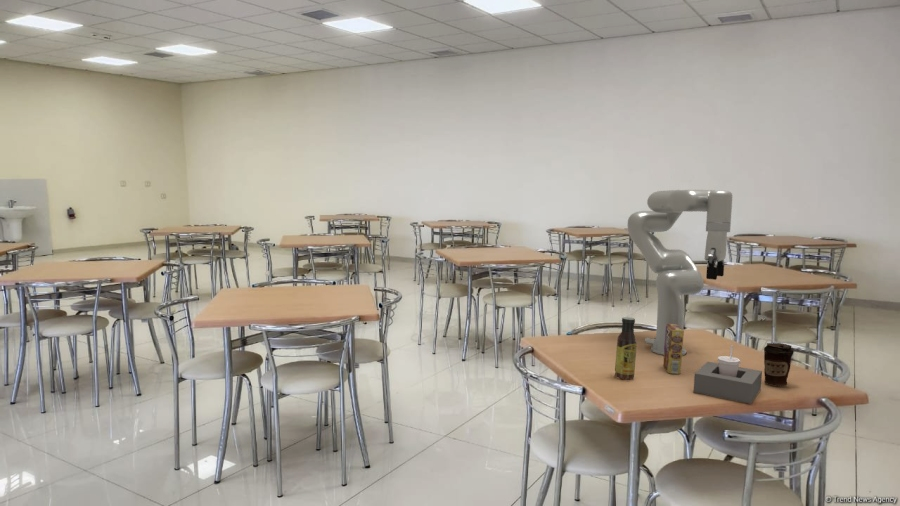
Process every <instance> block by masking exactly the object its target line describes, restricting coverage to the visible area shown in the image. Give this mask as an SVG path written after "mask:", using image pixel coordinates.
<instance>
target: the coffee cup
mask: <svg viewBox="0 0 900 506" xmlns="http://www.w3.org/2000/svg"><path fill="white" fill-rule="evenodd" d="M763 353H764V355H763V360H764V361H763V364H764V367H763V368H764V372H763V373H764V383H765V384H766V385H770V386H773V387H774V386H775V387H780V388H781V387H788V382H787V381H788V377H789V373H790V370H791V365H792V364H791V363H792V357H793V355H794V349H792V345H790V344H787V343H781V342H778V343H777V342H776V343H775V342H768V343H766V346H765V347H764V348H763Z"/></svg>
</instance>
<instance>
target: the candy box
mask: <svg viewBox="0 0 900 506" xmlns="http://www.w3.org/2000/svg"><path fill="white" fill-rule="evenodd" d="M684 333H685V330H684V328H683V329H681V328H680V327H679V326H678V325H675V324H666V331H665V345H664V355H663V360H662V361H663V363H662V367H663V368H664V369H665V371H666V372H667V373H668V374H671V375H672V374H676V375H680V374H681V370H682V358H683V355H682V348H683V347H684V345H683V344H684Z"/></svg>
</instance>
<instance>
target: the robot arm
mask: <svg viewBox="0 0 900 506" xmlns="http://www.w3.org/2000/svg"><path fill="white" fill-rule="evenodd" d="M646 203H647V206H648V208H649V209H650V210H641V211H635V212H633V213H631V215H630V216H629V217H628V220H627V232H628V235H629V237H630V240H632V242H633V243H634V244H635V246H636V247H637V249H638V250H639V251H640V252H641V254H642V257H643V258H644V259H645V261H646V263H647V265H648V266H649V267H648V268H650V269H651V271H652V272H653V273H654V274H658V275H657V276H656V279H655V285H656V286H655V287H656V292H657V315H656V316H657V317H656V334H655V335H656V336H655V338H651V337H645V339H644V342H645V343H646V344H648V345H652V346H651V347H650V348H651V349H650V350H651V352H653V353H654V354H657V355H660V356H661V355H662V356H664V345H665V331H666V324H675V325H678V326H679V327H680V328H681V329H683V330H684V323H685V321H684V319H685V305H684V302H683V301H682V298H681V297H680V296H685V295H696V294H699V293H701V292H702V291H703V289H704V278H703V277H704V276H703V275H702V273H701V272H700V269H698V267H697V266H696V264H695V263H694V260H692V258H691V256H690V255H689V254H688V253H687V252H686V251H684V250H682V249H668V248H665V246H664V245H663V244H662V241H661V240H660V238H658V237H657V236H656V235H654V234H653V232H654V233H662V232H667V231H669V230H670V229H672V227H673V226H674V224H675V223H676V222H677V220H679V218H680V217H681V215H682V214H683V212H690V213H691V212H706V221H705V222H706V224H705V232H707V234H706V235H707V236H706V241H705V251H704V260H705V261H707V264H706V280H715V281H716V280H717V279H718V277H723V276H724V274H725V273H724V272H725V271H724V270H725V259H726V256H727V245H728V244H727V242H728V241H727V239H728V238H727V237H728V236H727V235H728V233H731V224H732V208H733V193H732V192H731V191H729V190H715V189H714V190H713V189H673V190H672V189H671V190H657V191H655V192H652V193H651V194H649V196H648V198H647V201H646ZM686 354H687V350H686V349H685V348H683V347H682V356H685V355H686Z"/></svg>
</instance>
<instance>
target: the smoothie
mask: <svg viewBox="0 0 900 506" xmlns="http://www.w3.org/2000/svg"><path fill="white" fill-rule="evenodd" d="M733 347H734V345H733V344H731V345H730V349H729V350H730V354H729V356H727V355H722V356H721V355H720V356H718V357H717V363H719V374H720V375H726V376H731V377H736V376H737V371H738V367H740V366H739V365H740V364H741V360H740V359H739V358H738V357H735V356H733V350H734V349H733Z"/></svg>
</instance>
